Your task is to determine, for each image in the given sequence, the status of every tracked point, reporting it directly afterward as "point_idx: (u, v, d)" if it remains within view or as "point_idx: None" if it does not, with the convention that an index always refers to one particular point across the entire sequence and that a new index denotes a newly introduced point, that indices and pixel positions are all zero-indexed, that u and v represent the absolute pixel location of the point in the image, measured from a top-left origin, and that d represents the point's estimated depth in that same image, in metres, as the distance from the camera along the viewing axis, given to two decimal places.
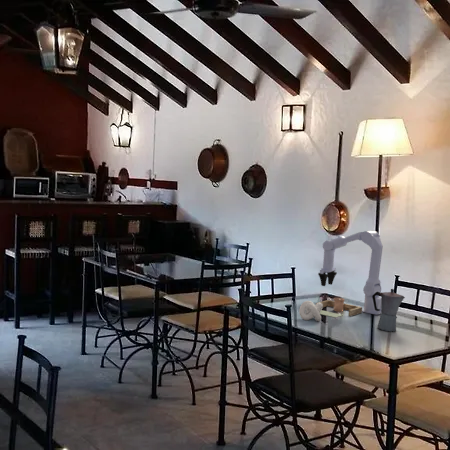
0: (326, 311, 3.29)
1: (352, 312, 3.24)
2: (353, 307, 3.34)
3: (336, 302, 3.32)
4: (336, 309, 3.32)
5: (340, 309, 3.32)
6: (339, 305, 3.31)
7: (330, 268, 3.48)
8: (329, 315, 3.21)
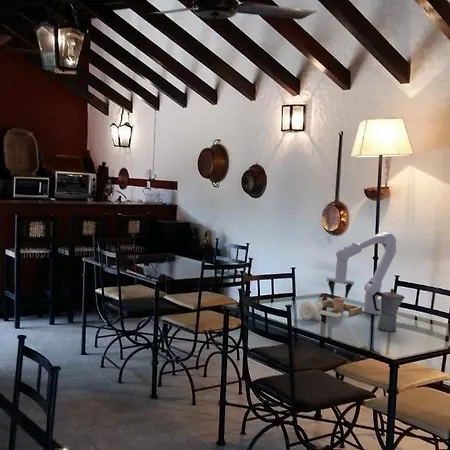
0: (326, 311, 3.29)
1: (352, 312, 3.24)
2: (353, 307, 3.34)
3: (336, 302, 3.32)
4: (336, 309, 3.32)
5: (340, 309, 3.32)
6: (339, 305, 3.31)
7: (336, 278, 3.31)
8: (329, 315, 3.21)
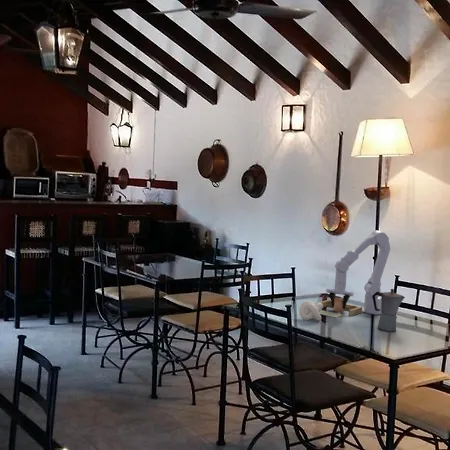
0: (326, 311, 3.29)
1: (352, 312, 3.24)
2: (353, 307, 3.34)
3: (336, 302, 3.32)
4: (336, 309, 3.32)
5: (340, 309, 3.32)
6: (339, 305, 3.31)
7: (336, 289, 3.31)
8: (329, 315, 3.21)
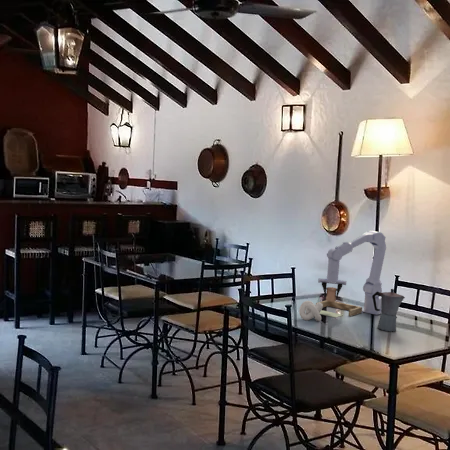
0: (326, 311, 3.29)
1: (352, 312, 3.24)
2: (353, 307, 3.34)
3: (329, 292, 3.24)
4: (329, 299, 3.25)
5: (333, 299, 3.25)
6: (333, 295, 3.24)
7: (329, 278, 3.23)
8: (329, 315, 3.21)
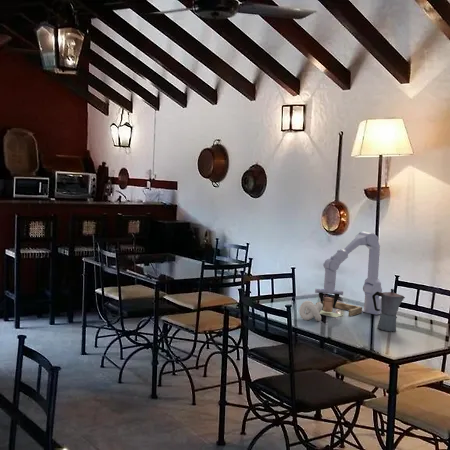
0: None
1: (352, 312, 3.24)
2: (353, 307, 3.34)
3: (326, 302, 3.23)
4: (327, 309, 3.23)
5: (330, 309, 3.23)
6: (330, 305, 3.23)
7: (326, 289, 3.22)
8: (329, 315, 3.21)
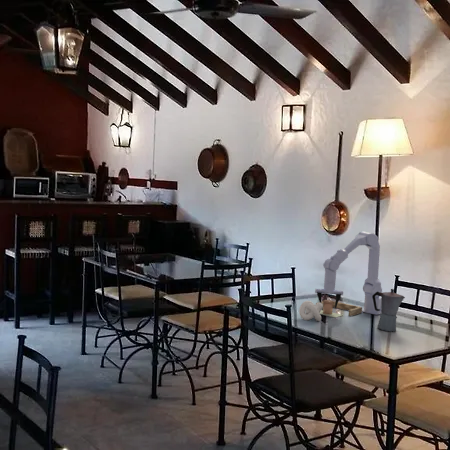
0: None
1: (352, 312, 3.24)
2: (353, 307, 3.34)
3: (326, 305, 3.23)
4: (326, 312, 3.23)
5: (330, 311, 3.23)
6: (330, 307, 3.23)
7: (326, 289, 3.22)
8: (329, 315, 3.21)
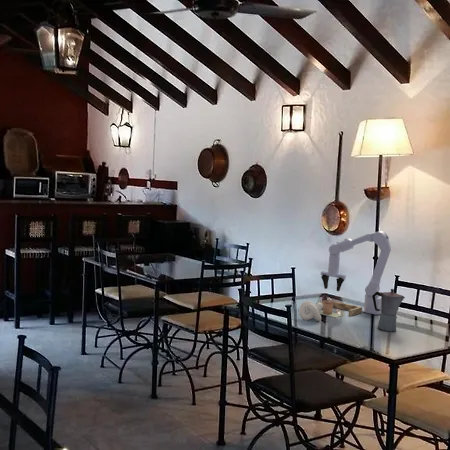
0: None
1: (352, 312, 3.24)
2: (353, 307, 3.34)
3: (326, 305, 3.23)
4: (326, 312, 3.23)
5: (330, 311, 3.23)
6: (330, 307, 3.23)
7: (328, 271, 3.41)
8: (329, 315, 3.21)
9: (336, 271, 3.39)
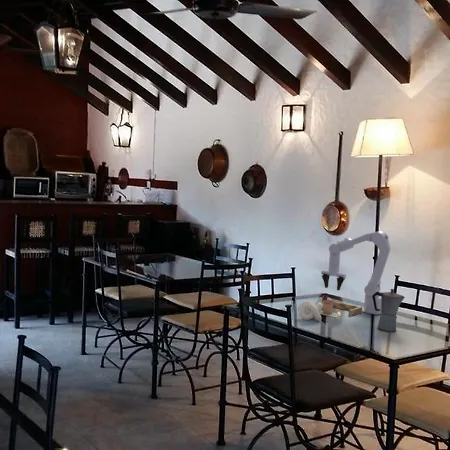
0: None
1: (352, 312, 3.24)
2: (353, 307, 3.34)
3: (326, 305, 3.23)
4: (326, 312, 3.23)
5: (330, 311, 3.23)
6: (330, 307, 3.23)
7: (329, 271, 3.43)
8: (329, 315, 3.21)
9: (336, 270, 3.41)
